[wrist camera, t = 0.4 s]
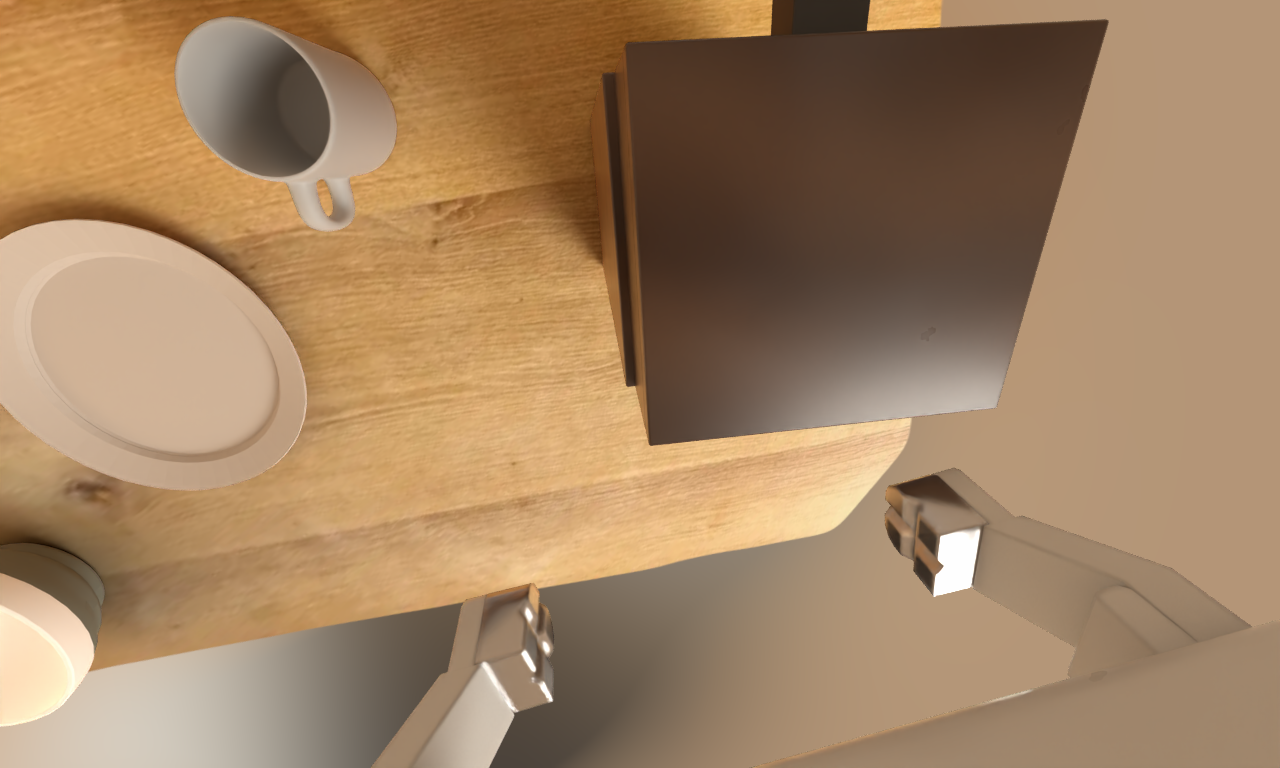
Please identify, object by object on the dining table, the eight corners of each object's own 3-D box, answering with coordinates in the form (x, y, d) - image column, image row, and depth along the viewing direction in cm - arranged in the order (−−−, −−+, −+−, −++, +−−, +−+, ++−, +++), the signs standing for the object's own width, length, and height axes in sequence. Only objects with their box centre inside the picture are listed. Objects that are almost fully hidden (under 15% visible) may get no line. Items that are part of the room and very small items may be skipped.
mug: (262, 52, 36) (141, 14, 26) (382, 49, 37) (309, 11, 27) (315, 223, 41) (231, 245, 31) (419, 217, 42) (369, 237, 32)
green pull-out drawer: (642, -463, 12) (653, -572, 10) (1025, -453, 13) (1098, -552, 11) (670, 354, 21) (678, 372, 19) (890, 333, 22) (918, 349, 20)
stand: (589, 119, 40) (609, 42, 12) (756, 109, 41) (1125, 17, 13) (603, 266, 45) (637, 448, 17) (750, 254, 46) (1007, 407, 18)
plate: (141, 153, 38) (119, 153, 36) (374, 403, 49) (366, 413, 47) (-90, 315, 41) (-120, 322, 39) (178, 517, 52) (164, 530, 50)
